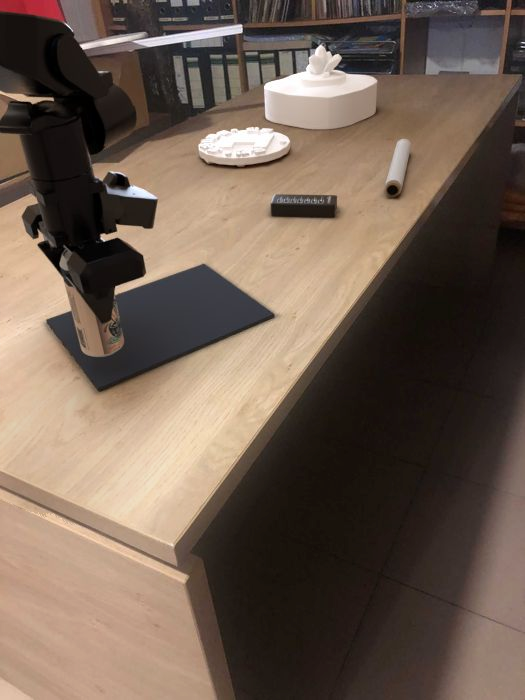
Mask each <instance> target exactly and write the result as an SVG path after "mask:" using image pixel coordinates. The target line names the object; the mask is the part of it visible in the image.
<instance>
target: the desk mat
mask: <svg viewBox="0 0 525 700" xmlns="http://www.w3.org/2000/svg"><path fill="white" fill-rule="evenodd" d="M115 298H116V303H117V308H118V313H119V318H120V322H121V327H122V332H123V337H124V344H123V346H122V347H121V349H119V350H118V351H116V352H115V353H113V354H111V355H109V356H105V357H93V356H89V355H86V354H85V353H84V352H83V351H82V350H81V346H80V342H79V338H78V334H77V330H76V326H75V323H74V319H73V315H72V311H71V310H69V311H66V312H63V313H61V314H58V315H55V316H52V317H49V318H46V320H45V321H46V323H47V325H48V326H49V327H50V329H51V330H52V331H53V333H54V334H55V335H56V337H57V338H58V339H59V341H60V342H61V343H62V345H63V346H64V347H65V349H66V351H68V353H69V354H70V355H71V357H72V358H73V359H74V361H75V362H76V363H77V365H78V366H79V368H80V369H81V370H82V371H83V373H84V374H85V375H86V376H87V378H88V380H89V381H90V382H91V383H92V385H93V386H94V387H95V389H96V390H97V391H98V392H102V391H104V390H106V389H108V388H111V387H114V386H115V385H118V384H120V383H123V382H125V381H128V380H130V379H132V378H134V377H137V376H139V375H141V374H144V373H147V372H149V371H151V370H153V369H155V368H159V367H160V366H163V365H165V364H167V363H170V362H172V361H174V360H176V359H180V358H181V357H184V356H186V355H189V354H191V353H193V352H196V351H198V350H201V349H203V348H205V347H207V346H210V345H212V344H214V343H216V342H219V341H221V340H224V339H227V338H228V337H230V336H232V335H236V334H238V333H240V332H242V331H245V330H248V329H250V328H252V327H254V326H257V325H259V324H260V323H261V324H262V323H264V322H267V321H269V320H271V319H273V318H275V313H274V312H273V311H271V310H270V309H268V308H267V307H266V306H265V305H263V304H262V303H260V302H259V301H257V300H256V299H254V298H253V297H252V296H250V295H249V294H248V293H246V292H245V291H243V290H242V289H241V288H239V287H237V286H236V285H235V284H233V283H232V282H230V281H229V280H228V279H226V278H225V277H223V276H222V275H221V274H219V273H218V272H217V271H215V270H214V269H213V268H211V267H209V266H208V265H207V264H205V263H202V264H199V265H196V266H193V267H190V268H188V269H185V270H181V271H179V272H176V273H173V274H171V275H168V276H165V277H161V278H160V279H156V280H154V281H151V282H148V283H145V284H143V285H140V286H137V287H134V288H132V289H128V290H126V291H123V292H120V293H117V294H115Z"/></svg>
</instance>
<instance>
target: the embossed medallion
mask: <svg viewBox="0 0 525 700" xmlns="http://www.w3.org/2000/svg"><path fill="white" fill-rule="evenodd" d="M290 149H291V140H290V139H289V137H288V136H287V135H285V134H283V133H281V132H277V131H274V128H266V127H262V128H261V129H260V127H259V126H255V127H246V129H245V130H244V129H240V130H238V128H231V129H230V131H229V130H225V129H222V130H221V131H217V132H216V134H215V133H209V134H207V136H206V137H204V138H203V139H200V143H199V144H198V153H199V157H200V159H202V160H204V161H205V162H206V163H207V164H208V165H210V164H217V165H227V166H237V167H239V168H244V167H245V166H246V165H254V164H262V163H267V162H270V161H273V160H277V159H279V158H281V157H283V156H285V155H288V153H289V151H290Z"/></svg>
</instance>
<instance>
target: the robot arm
mask: <svg viewBox="0 0 525 700" xmlns="http://www.w3.org/2000/svg"><path fill="white" fill-rule="evenodd" d="M0 92H1V93H4V94H10V95H24V96H25V97H26V98H46V99H43V100H39V101H37V102H35V103H32V102H31V101H25V100H24V101H23V100H22V101H21V100H9V102H8V104H7V108H6V111H5V112H4V114H3V115H2V116H1V118H0V134H4V135H5V134H6V135H8V134H9V135H18V138H19V142H20V146H21V148H22V152H23V155H24V159H25V163H26V166H27V169H28V174H29V177H30V179H31V180H30V181H26V184H27V188H28V191H29V193H30V194H31V195H32V196H33V197H35V199H36V202H37V203H34V204H30V205H27V206H26V207H25V209H24V211H23V213H22V215H21V220H22V224H23V226H24V229H25V233H27V235H28V236H30V238H31V239H32V240H37V239H39V237H40V233H41V235H42V238H43V240H42V241H40V242H38V243H37V247H38V249H39V251H41V253H42V254H43V255H44V256H45V257H46V259H47V260H48V261H49V263H50V264H51V265H52V266H53V267H54V269H55V270H56V271H57V273H58V274H59V275H60V276H61V277H62V278H63V276H62V272H61V268H60V260H61V257H62V253H63V252H64V250H65V249H66V250H67V251H68V252H69V253H70V254H71V256H70V258H69V259H68V261H67V266H68V270H69V273H68V274H65V276H66V278H67V279H68V281H69V282H70V283H71V284H72V286H73V287H74V288H75V290H76V291H77V292H78V293H79V295H80V296H81V297H82V299H83V300H84V301H85V303H86V304H87V305H88V307H89V308H90V309H91V311H92V312H93V313H94V315H95V316H96V317H97V318H98V320H99V321H100V322H101V323H102V324H104V323H106V322H109V321H111V318H112V310H113V301H114V293H115V291H116V287H118V286H121V285H124V284H127V283H130V282H132V281H136V280H139V279H141V278H144V277H145V275H146V274H147V269H146V263H145V258H144V255H143V254H142V253H141V252H140V251H138V250H137V249H136V248H135V247H133V246H132V245H131V244H130V243H129V242H126V241H125V240H123V239H121V238H120V237H114V238H111V239H107V240H104V239H103V238H102V236H101V235H106V236H107V235H111V234H113V233H117V232H118V227H117V225H118V226H127V227H129V226H130V227H141V228H143V229H144V230H145V229H146V230H152V229H154V225H155V219H156V214H157V208H158V201H159V198H158V197H157V196H155V195H154V194H152V193H151V192H149V191H147V190H146V189H144V188H141V187H139V186H136V185H133V184H132V185H131V183H130V179H129V178H128V176H127V175H125V174H124V173H122V172H118V171H110V170H109V171H108V172H107V173H106V175H105V176H104V178H103V179H100V178H99V177H97V176H96V175H95V173H94V168H93V163H92V158H91V156H94V155H97V154H99V153H101V152H103V151H104V150H106V149H108V148H110V147H111V146H113V145H115V144H117V143H119V142H120V141H122V140H124V139H125V138H127V137H129V136H130V135H131V134H133V132H134V130H135V128H136V125H137V118H138V117H137V108H136V106H135V105H134V104H133V101H132V100H131V98H130V96H129V95H128V94H127V92H126V91H124V89H123V88H122V87H120V86H119V85H117V84H116V83H114V78H113V72H112V71H109V70H108V71H104V70H103V71H102V70H101V71H99V70H97V68H96V67H95V66H94V64H93V62H92V61H91V59H90V57H89V56H88V55H87V53H86V52H85V50H84V49H83V47H82V45H80V43H79V42H78V40H77V39H76V38H75V33H74V31H73V29H72V28H71V27H70V26H69V25H68V24H67V23H66V22H64V21H63V20H61V19H58V18H53V17H47V16H42V15H38V14H31V13H20V12H12V11H3V10H0ZM50 99H51V100H50ZM52 99H53V100H52Z"/></svg>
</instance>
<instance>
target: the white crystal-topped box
mask: <svg viewBox="0 0 525 700" xmlns="http://www.w3.org/2000/svg"><path fill="white" fill-rule="evenodd" d="M314 51H315V52H314V53H313V54H312V55H310V56H309V57H308V63H309V64H308V65H307V67H306V68H305V69H306V71H301V72H297V73H294V74H291V75H288V76H286V77H284V78H281V79H275V80H272V81H269V82H267V83H265V85H264V87H263V91H264V92H263V93H264V94H263V95H264V112H265V113H264V114H265V115H264V116H265V119H266V120H267V121H269V122H271V123H275V124H278V125H283V126H284V125H285V126H290V127H294V128H299V129H305V130H318V131H319V130H335V129H341V128H345V127H348V126H352V125H354V124H357V123H359V122H362V121H363V120H366V119H368V118H370V117H373V116H374V115H375V114H376V111H377V94H378V80H377V78H375V77H374V76H372V75H368V74H354V73H346V72H344V71H342V70H338V69H335V68H336V67H337V66H338V65H339V63H340V62H341V60H342V59H343V57H342V56H341V55H340V54H339V53H337V54H334V55H332V53H331V51H327V50H326V48H325V47H324V46H323V44H320V45H318V46H317V47H316V49H315V50H314Z"/></svg>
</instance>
